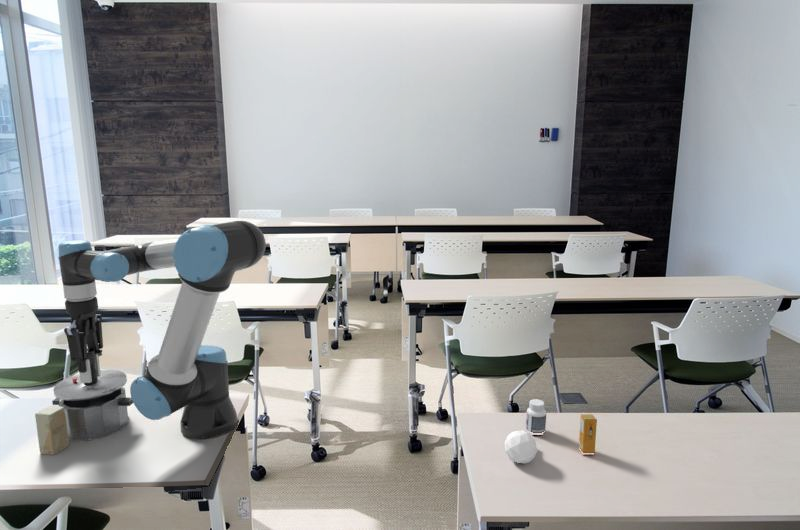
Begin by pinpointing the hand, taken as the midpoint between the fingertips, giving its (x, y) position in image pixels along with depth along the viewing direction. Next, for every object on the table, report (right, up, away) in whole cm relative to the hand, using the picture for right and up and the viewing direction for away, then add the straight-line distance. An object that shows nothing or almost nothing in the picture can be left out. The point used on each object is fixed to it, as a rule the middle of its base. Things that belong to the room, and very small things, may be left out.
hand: (90, 378), depth 146 cm
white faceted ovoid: (+117, -18, -12) cm, 119 cm away
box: (-4, -16, -9) cm, 19 cm away
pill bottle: (+124, -15, 0) cm, 125 cm away
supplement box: (+135, -17, -10) cm, 136 cm away
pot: (0, -14, +3) cm, 14 cm away
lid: (0, -2, 0) cm, 2 cm away
